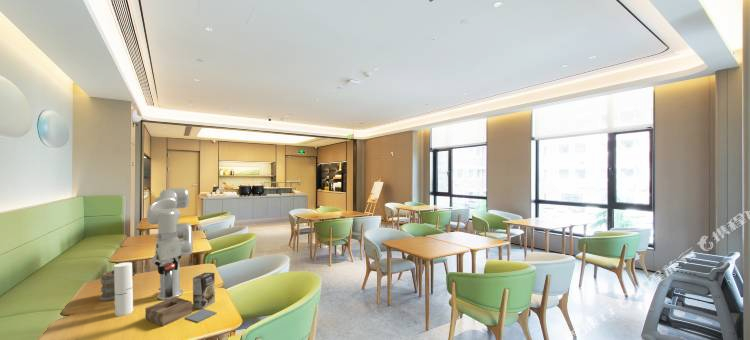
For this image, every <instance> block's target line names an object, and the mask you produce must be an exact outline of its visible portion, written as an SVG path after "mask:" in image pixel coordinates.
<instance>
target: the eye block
mask: <svg viewBox="0 0 750 340" xmlns="http://www.w3.org/2000/svg"><path fill="white" fill-rule="evenodd" d="M144 309H145V311H144V312H145V321H146V322H150V323H153V324H156V325H158V326H160V327H164V326H167V325H169V324H171V323H174V322H176V321H178V320H180V319H182V318H185V317H187V316H189V315H191V314H193V300H188V299H184V298H180V297H173V298H170V299H166V300H162V301H160V302H158V303H155V304H152V305H149V306H147V307H145V308H144Z"/></svg>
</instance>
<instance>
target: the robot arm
mask: <svg viewBox="0 0 750 340" xmlns="http://www.w3.org/2000/svg"><path fill="white" fill-rule="evenodd" d="M189 205H190V193H189V191H188V189H187V188H184V187H183V188H182V187H180V188H165V189H163V190H161V192H160V193H159V196H157V198H155V201H154V202H153V203H151V204H150V205H149V206H148V209H147V213H146V221H147V223H148V224H149V225H157V235H156V236H155V239H157V240H156V243H155V248H154V250H155V252H154V256H153V257H152V258H151V259H150V263H152V264H154V265H155V266H157V273H158V275H159V281H160V283H159V288H158V291H160V293H158V294H157V296H156V297H157V300H162V301H165V300H168V299H170V298H173V297H177V298H179V297H180V296H182V295H183V294H184V290H183V289H181V277H180V276H181V275H180V273H181V271H180V270H181V269H180V262H179V261H180V259H181V258H182V257H184V256H189V255H191V254H193V251H194V239H193V238H194V237H193V236H194V234H193V227H192V224H191V223H189V222H181V223H180V222H179V221H180V219H181V211H180V210H179V209H186V208H188V207H189ZM178 222H179V223H178ZM165 263H175V268H174V269H173V296H172V297H169V298H165V297H164V266H162V265H163V264H165Z"/></svg>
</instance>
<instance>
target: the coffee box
mask: <svg viewBox="0 0 750 340" xmlns="http://www.w3.org/2000/svg"><path fill="white" fill-rule="evenodd" d="M215 275H216V274H215V272H203V273H201V274H199V275H197V276H194V277H192V309H200V310H202V309H206V308H207V307H209V306H210V305H212V304H213V303H215V302H216V291H215V289H216V286H215V279H216V278H215V277H216V276H215Z"/></svg>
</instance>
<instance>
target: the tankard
mask: <svg viewBox="0 0 750 340" xmlns="http://www.w3.org/2000/svg"><path fill="white" fill-rule="evenodd" d="M135 274H136V273H135V272H134V271H132V277H134V276H135ZM101 276H102V277H101V280H100V284H101V285H102V287H101V288H100V292H101V293H102V294H101V295H100V296H99V300H100V301H104V302H106V301H108V302H109V301H113V300H114V301H115V285H114V269H113V270H109V271H105V272H104V273H103V274H102V275H101Z"/></svg>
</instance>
